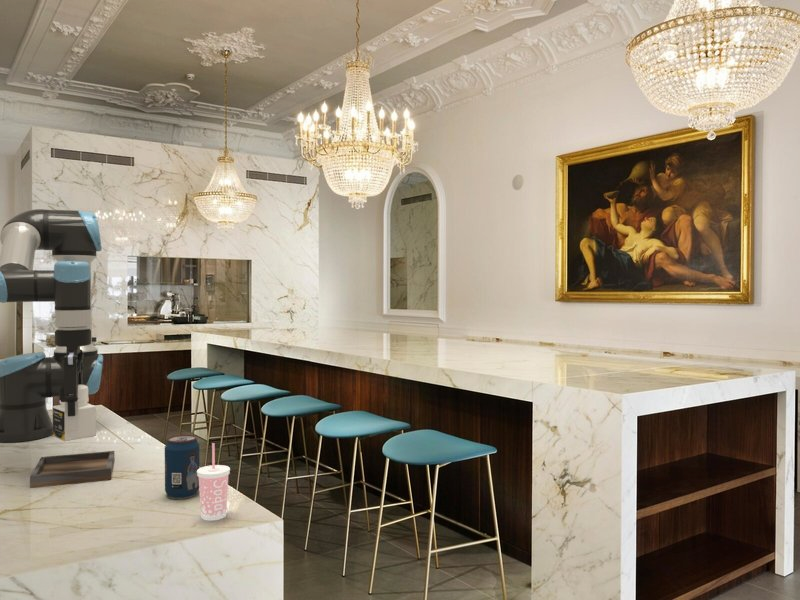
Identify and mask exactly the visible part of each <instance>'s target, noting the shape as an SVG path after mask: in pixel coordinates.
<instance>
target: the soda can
mask: <svg viewBox="0 0 800 600" xmlns="http://www.w3.org/2000/svg"><path fill="white" fill-rule="evenodd" d="M200 464H201V463H200V443H199V441H198V439H197V436H196V435H192V434H177V435H173V436H169V437H168V438H167V442H166V444H165V445H164V492H165V493H166V495H167V496H168V498H170V499H173V500H183V499H184V500H186V499H189V498H191V497H194V496H196V495H197V493H198V492H199V477H198V476H197V470H198V469H199V468H201V467H200Z"/></svg>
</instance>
